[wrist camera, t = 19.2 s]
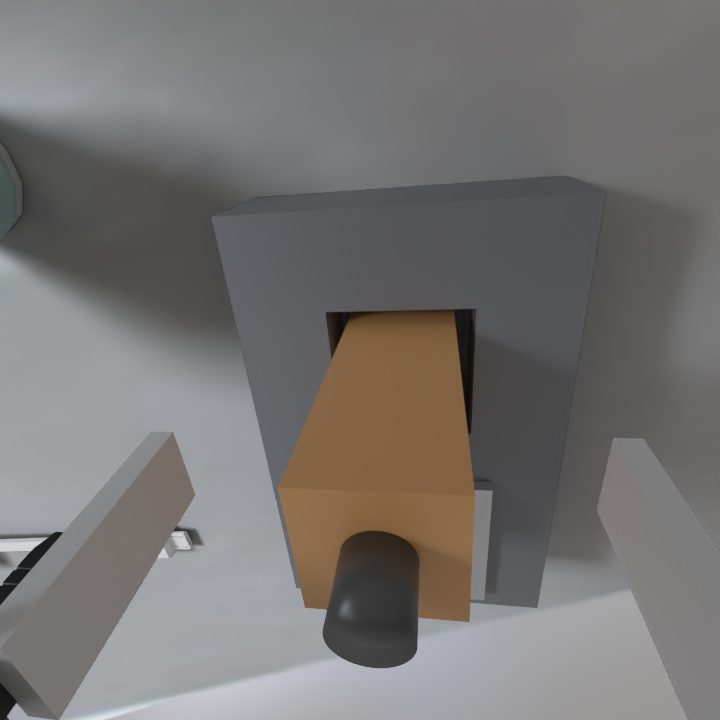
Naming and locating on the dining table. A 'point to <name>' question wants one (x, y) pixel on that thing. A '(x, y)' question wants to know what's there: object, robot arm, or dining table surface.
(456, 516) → the plug
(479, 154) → the dining table surface
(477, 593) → the shutter
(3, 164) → the disposable coffee cup
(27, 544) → the charging cable
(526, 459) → the socket box
